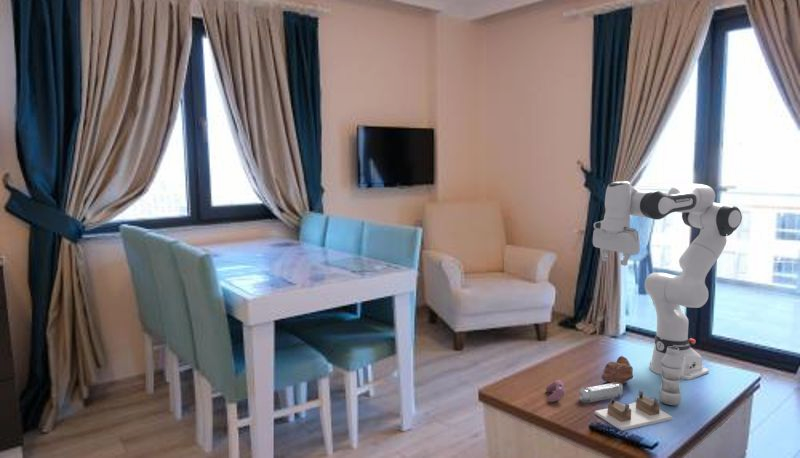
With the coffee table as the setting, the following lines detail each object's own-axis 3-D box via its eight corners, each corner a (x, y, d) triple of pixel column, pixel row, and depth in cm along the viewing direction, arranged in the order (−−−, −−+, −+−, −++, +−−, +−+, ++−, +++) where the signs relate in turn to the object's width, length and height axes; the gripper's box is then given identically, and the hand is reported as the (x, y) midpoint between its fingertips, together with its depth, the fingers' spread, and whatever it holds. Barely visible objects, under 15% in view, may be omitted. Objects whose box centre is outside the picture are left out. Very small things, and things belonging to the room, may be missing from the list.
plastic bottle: (679, 409, 179) (683, 352, 177) (657, 404, 183) (661, 349, 180) (681, 402, 185) (685, 347, 182) (659, 397, 188) (663, 343, 186)
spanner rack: (643, 403, 184) (644, 385, 183) (672, 419, 173) (673, 400, 172) (594, 413, 176) (595, 395, 176) (621, 430, 165) (622, 410, 164)
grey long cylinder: (617, 392, 193) (617, 381, 193) (624, 396, 190) (624, 385, 189) (577, 399, 187) (578, 388, 186) (584, 403, 184) (584, 392, 183)
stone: (621, 376, 207) (622, 352, 206) (640, 384, 200) (642, 359, 198) (599, 383, 201) (600, 358, 199) (618, 391, 193) (620, 365, 192)
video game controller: (558, 407, 184) (568, 391, 183) (546, 401, 185) (556, 384, 183) (555, 395, 194) (565, 380, 192) (544, 389, 194) (554, 373, 193)
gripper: (645, 228, 185) (642, 267, 187) (603, 222, 204) (602, 257, 206) (631, 229, 183) (628, 268, 185) (590, 223, 202) (588, 258, 204)
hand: (614, 262), depth 195 cm, fingers open, 8 cm apart
